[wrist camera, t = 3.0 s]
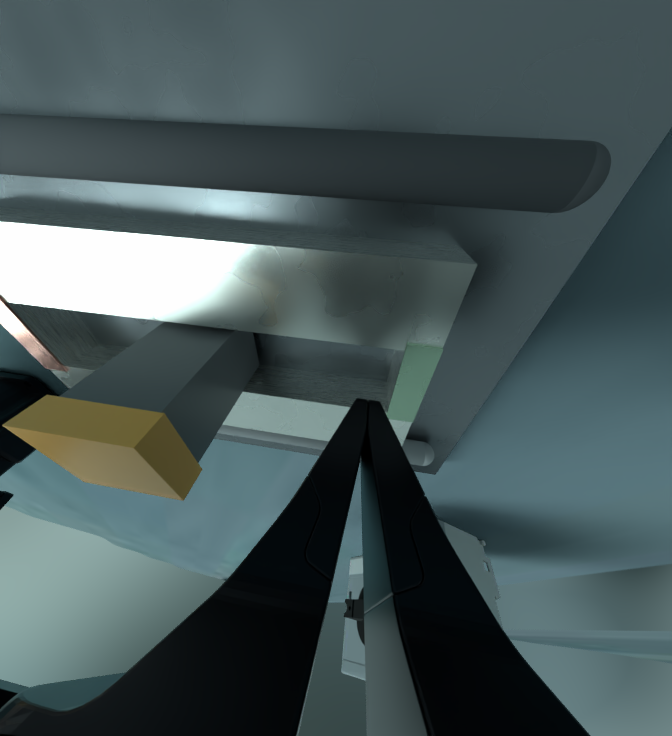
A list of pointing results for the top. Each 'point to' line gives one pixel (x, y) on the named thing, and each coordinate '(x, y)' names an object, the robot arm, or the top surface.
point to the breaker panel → (320, 214)
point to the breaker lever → (145, 410)
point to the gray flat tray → (310, 172)
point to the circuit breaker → (354, 623)
